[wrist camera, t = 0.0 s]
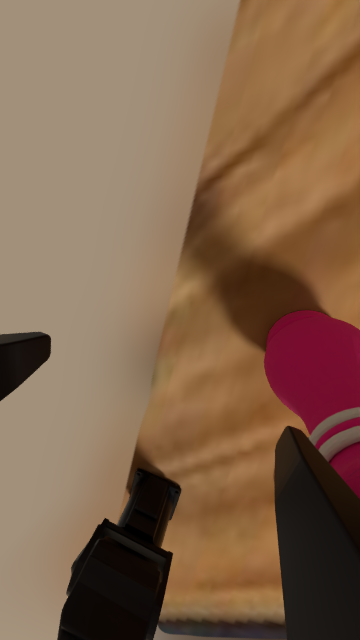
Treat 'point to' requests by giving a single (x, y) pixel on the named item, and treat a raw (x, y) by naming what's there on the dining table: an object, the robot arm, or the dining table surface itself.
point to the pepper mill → (320, 383)
